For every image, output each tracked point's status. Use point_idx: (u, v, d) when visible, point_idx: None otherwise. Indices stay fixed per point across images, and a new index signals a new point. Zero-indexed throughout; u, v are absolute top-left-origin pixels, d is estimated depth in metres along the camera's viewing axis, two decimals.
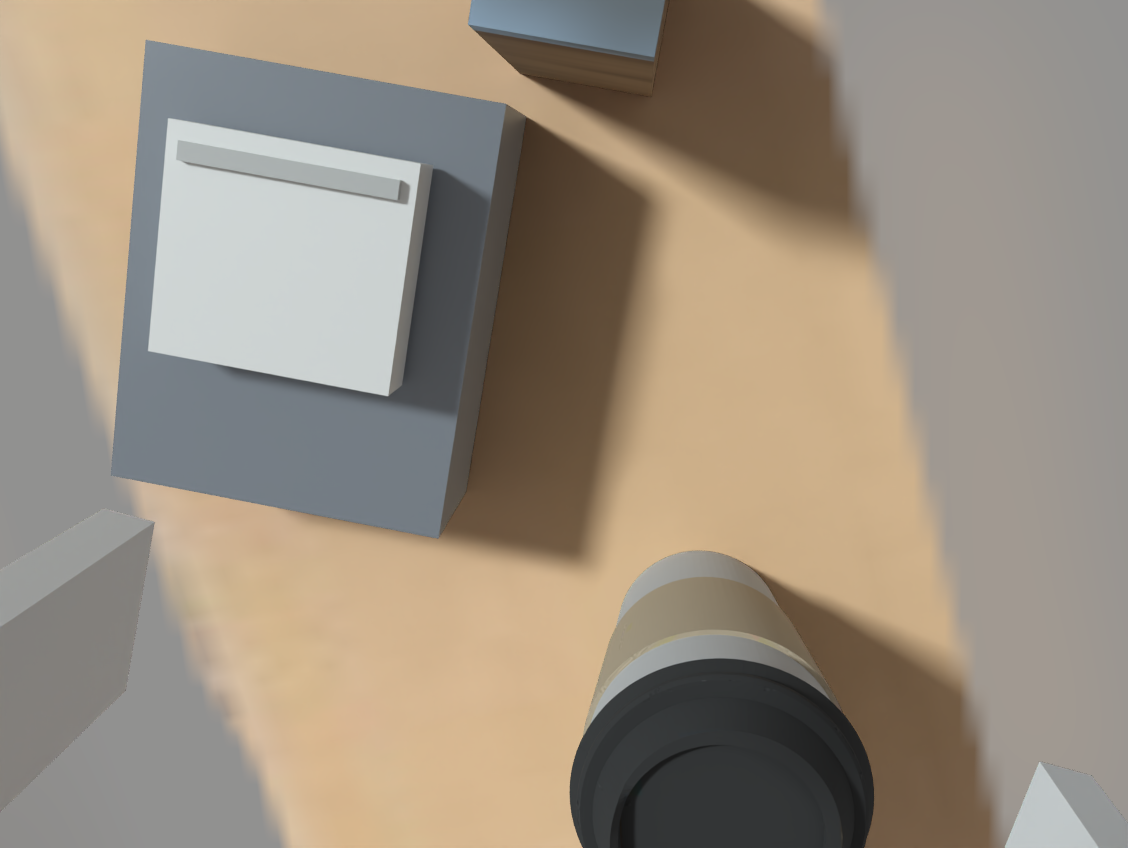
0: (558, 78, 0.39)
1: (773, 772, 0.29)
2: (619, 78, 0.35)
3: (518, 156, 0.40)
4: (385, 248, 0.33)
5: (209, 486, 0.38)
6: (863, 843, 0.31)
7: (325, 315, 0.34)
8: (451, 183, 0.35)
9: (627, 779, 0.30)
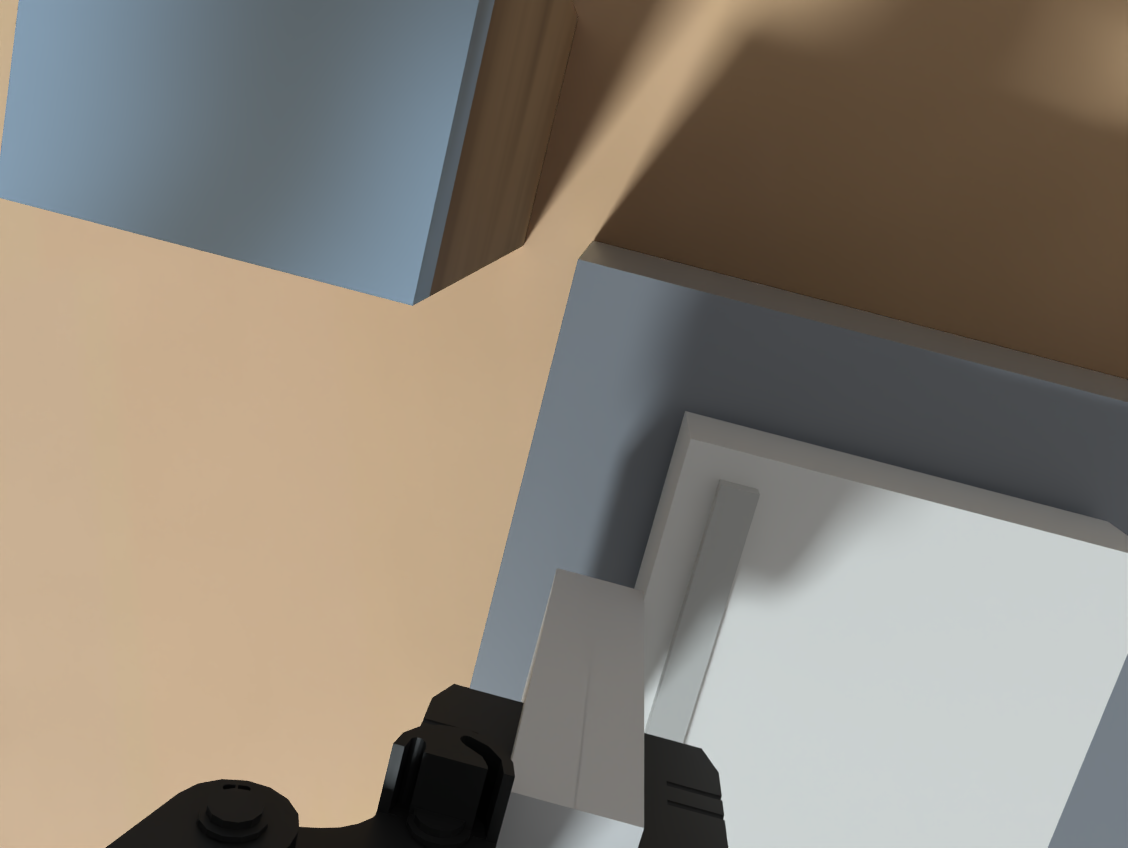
0: (536, 178, 0.23)
1: None
2: (547, 40, 0.18)
3: (658, 258, 0.23)
4: (851, 528, 0.16)
5: None
6: None
7: (971, 662, 0.17)
8: (714, 378, 0.18)
9: None
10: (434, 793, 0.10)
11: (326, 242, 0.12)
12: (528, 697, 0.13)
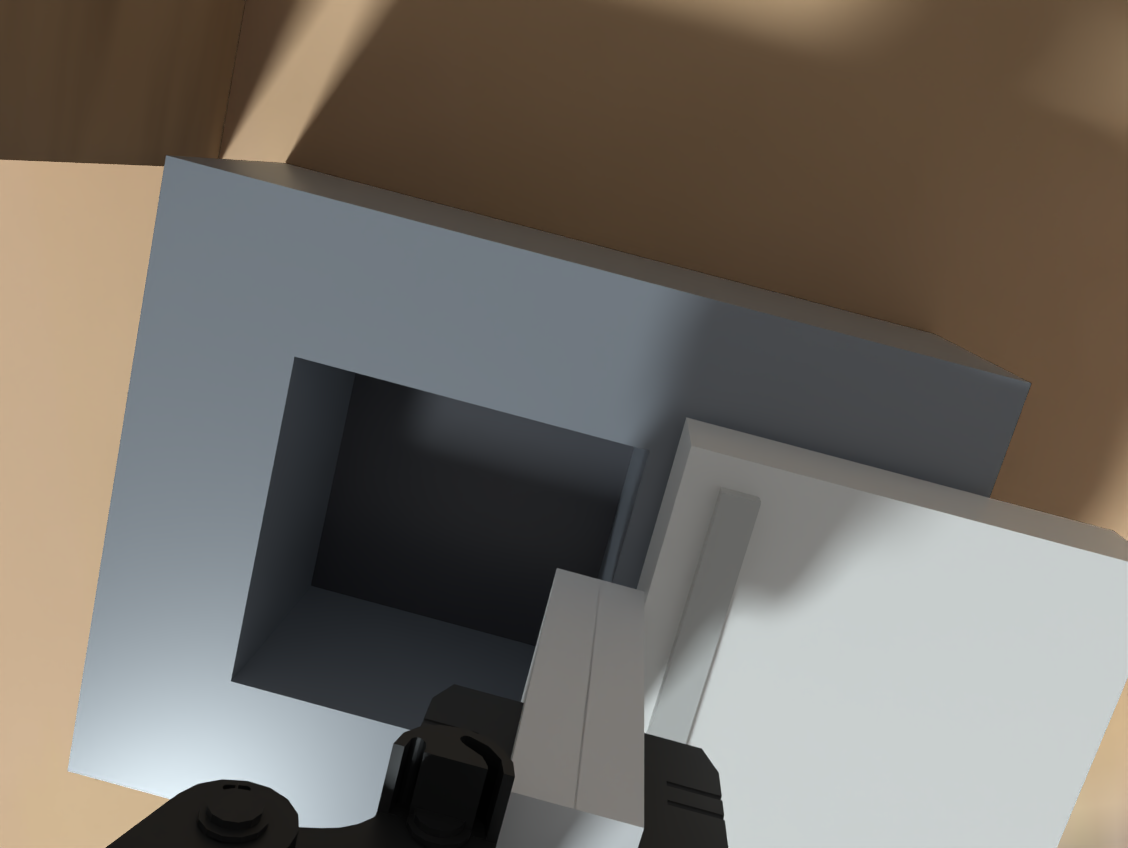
0: (215, 97, 0.23)
1: None
2: None
3: (342, 179, 0.23)
4: (853, 537, 0.16)
5: None
6: None
7: (974, 673, 0.16)
8: (309, 277, 0.18)
9: None
10: (434, 793, 0.10)
11: None
12: (528, 697, 0.13)
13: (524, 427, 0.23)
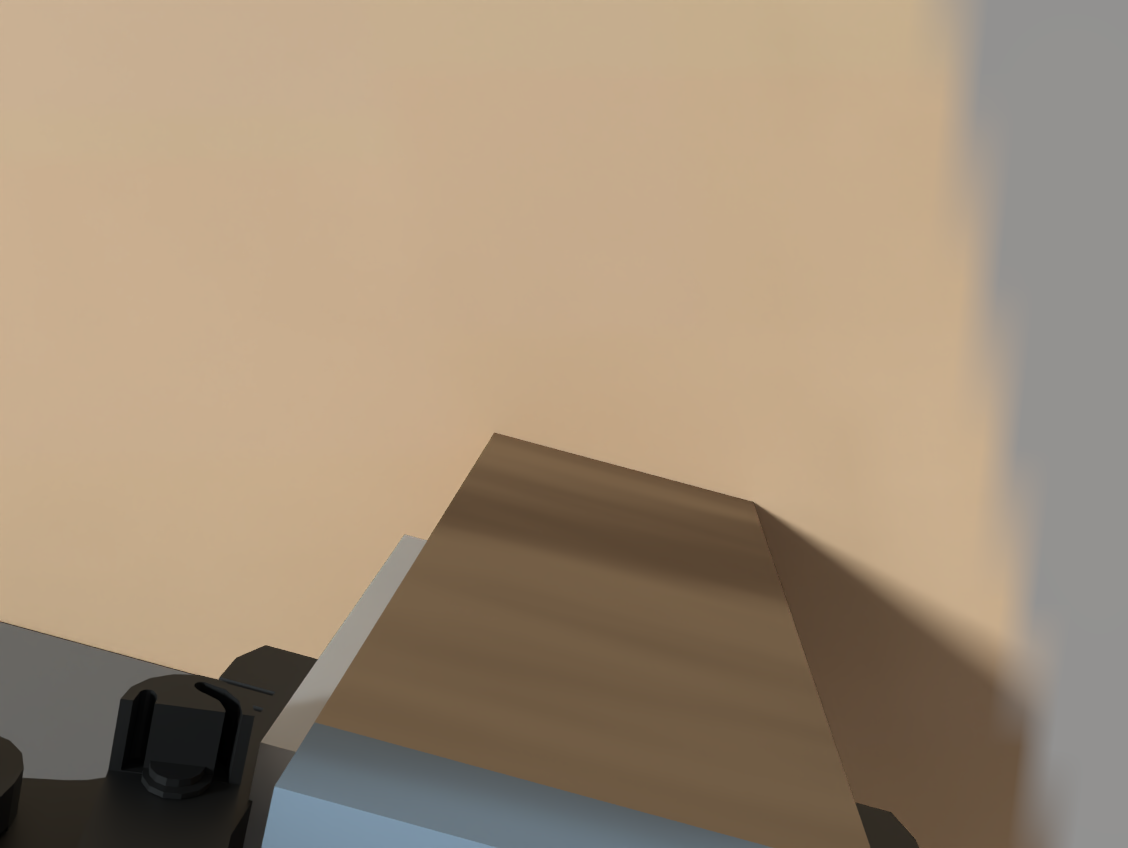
0: None
1: None
2: None
3: None
4: None
5: None
6: None
7: None
8: None
9: None
10: (169, 744, 0.10)
11: None
12: (322, 655, 0.13)
13: None
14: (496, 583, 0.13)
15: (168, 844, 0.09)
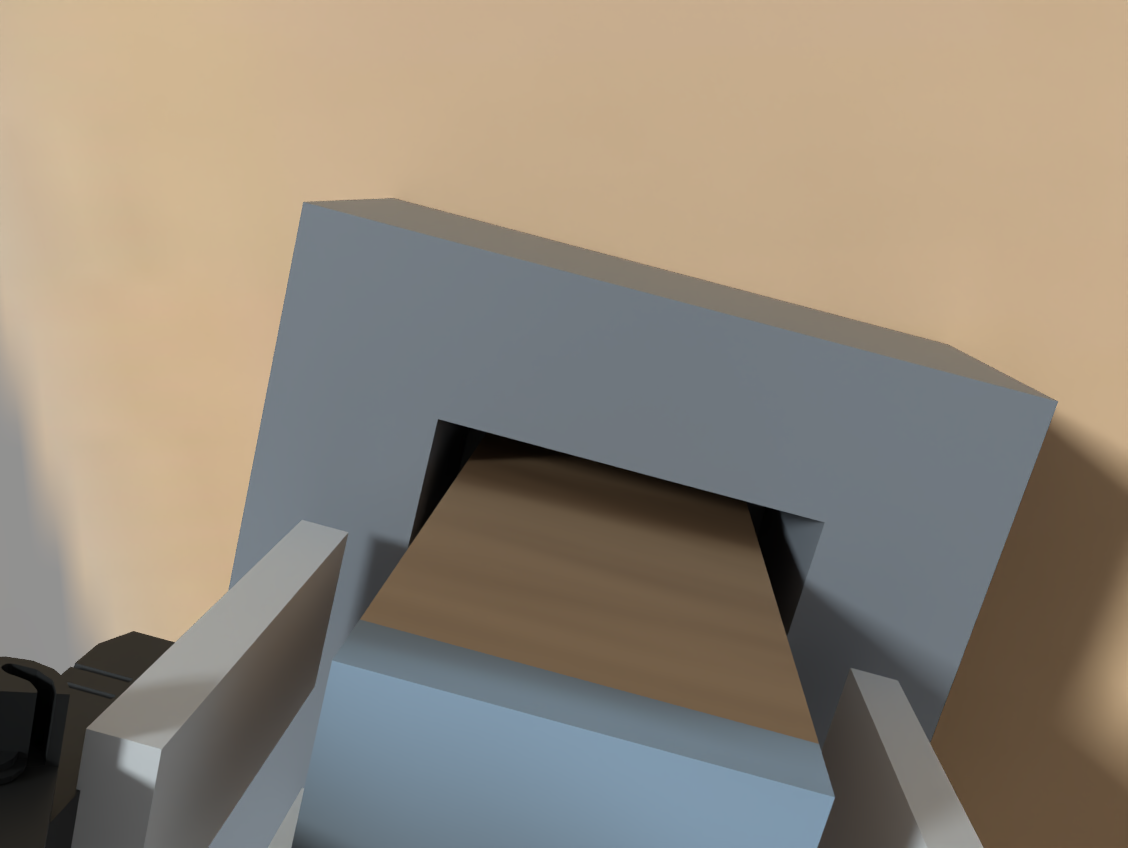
0: None
1: None
2: None
3: None
4: None
5: None
6: None
7: None
8: (911, 544, 0.17)
9: None
10: None
11: None
12: (179, 640, 0.12)
13: None
14: (505, 527, 0.15)
15: None
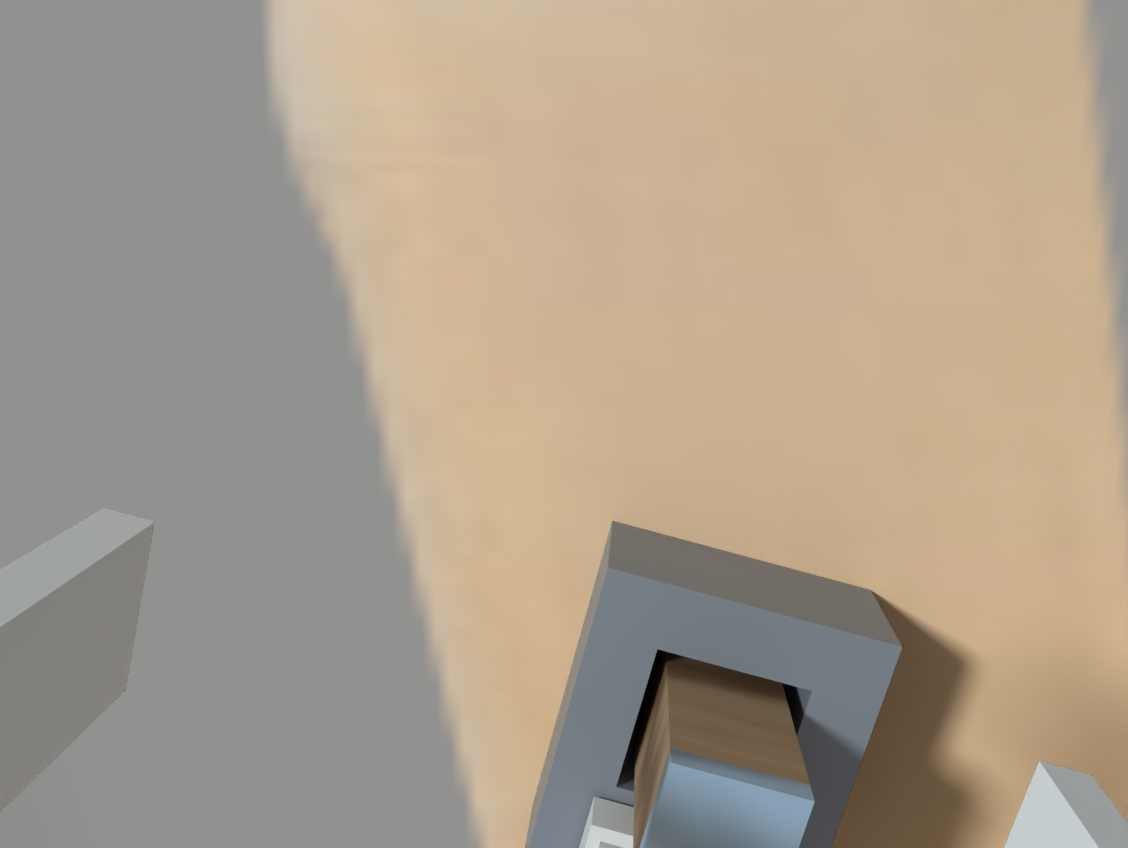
0: None
1: None
2: None
3: None
4: None
5: None
6: None
7: None
8: (846, 699, 0.42)
9: None
10: None
11: None
12: None
13: None
14: (694, 700, 0.41)
15: None
